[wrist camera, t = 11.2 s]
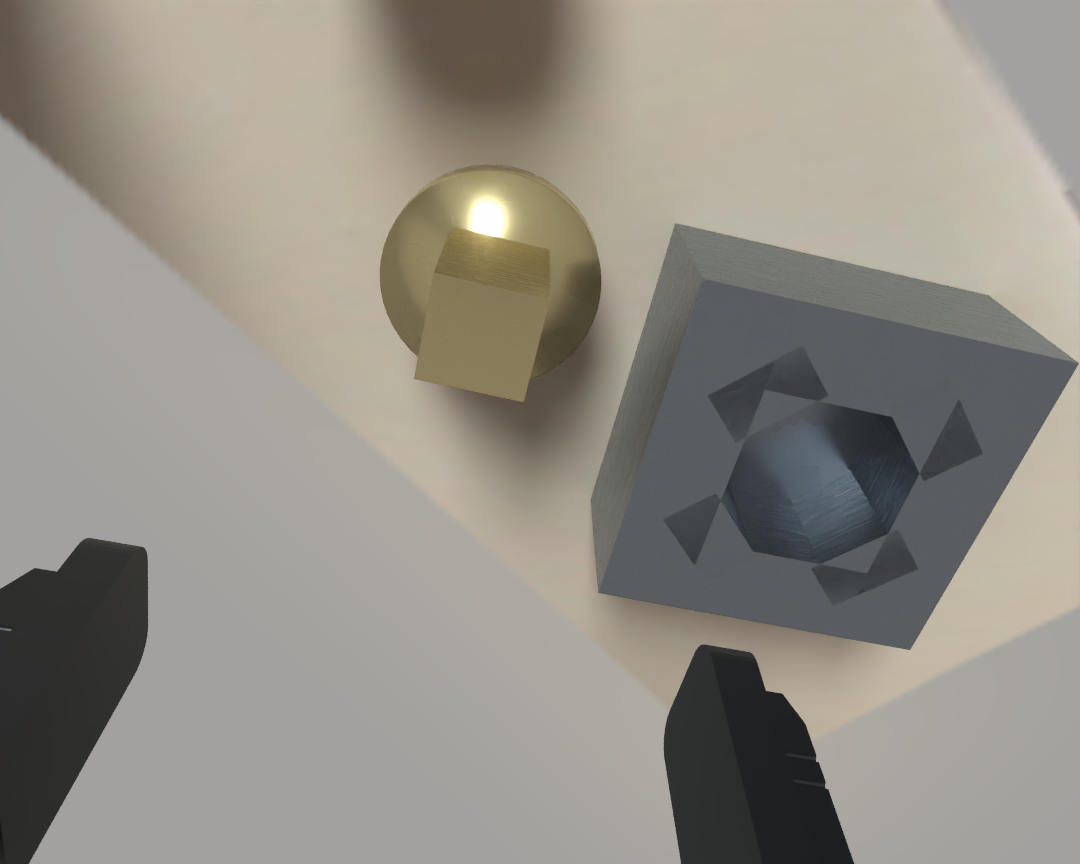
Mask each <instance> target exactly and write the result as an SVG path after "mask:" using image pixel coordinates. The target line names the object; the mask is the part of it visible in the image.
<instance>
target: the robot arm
mask: <svg viewBox="0 0 1080 864" xmlns="http://www.w3.org/2000/svg"><path fill="white" fill-rule="evenodd" d="M147 632H148V560H147V552H146V550H145V548H143V547H139V546H133V545H127V544H121V543H116V542H110V541H104V540H98V539H92V538H86V539H84V540H83V541H82V542H80V544H79V545H78V546H77V547H76V548H75V550H74V551H73V552H72V553H71V555H70V556H69V557H68V559H67V560H66V561H65V562H64V564H63V565H62V566H61V568H60V569H59V570H58V571H57V572H55V571H49V570H42V569H36V568H35V569H33V570H31V571H29V572H28V573H26V574H24V575H23V576H21V577H19V578H18V579H16V580H14V581H13V582H11V583H9V584H8V585H6V586H4V587H3V588H1V589H0V864H29V862H30V860H31V859H32V857H33V855H34V853H35V851H36V850H37V848H38V846H39V844H40V842H41V841H42V839H43V837H44V835H45V834H46V831H47V830H48V828H49V826H50V825H51V823H52V821H53V819H54V817H55V816H56V814H57V812H58V810H59V808H60V807H61V805H62V803H63V801H64V800H65V798H66V796H67V794H68V793H69V791H70V789H71V787H72V785H73V784H74V782H75V780H76V778H77V776H78V775H79V773H80V771H81V769H82V768H83V766H84V764H85V762H86V760H87V759H88V757H89V755H90V753H91V751H92V750H93V748H94V746H95V744H96V742H97V741H98V739H99V737H100V735H101V733H102V732H103V730H104V728H105V726H106V725H107V723H108V721H109V719H110V718H111V716H112V713H113V712H114V710H115V708H116V707H117V705H118V703H119V701H120V700H121V698H122V696H123V694H124V693H125V691H126V689H127V687H128V685H129V684H130V682H131V680H132V678H133V676H134V674H135V673H136V671H137V668H138V666H139V664H140V661H141V658H142V655H143V652H144V648H145V644H146V639H147ZM664 758H665V763H666V770H667V777H668V783H669V790H670V795H671V802H672V808H673V815H674V821H675V827H676V834H677V840H678V846H679V852H680V858H681V864H854V862H853V859H852V856H851V853H850V851H849V848H848V845H847V842H846V839H845V836H844V834H843V831H842V828H841V825H840V822H839V819H838V816H837V813H836V811H835V808H834V805H833V802H832V799H831V796H830V793H829V790H828V789H825V783H826V782H825V779H824V776H823V773H822V770H821V768H820V765H819V762H816V753H815V750H814V747H813V745H812V742H811V739H810V736H809V733H808V730H807V727H806V725H805V723H804V722H803V720H802V719H801V718H800V716H799V715H798V714H797V712H796V711H795V710H794V708H793V707H792V706H791V705H790V703H789V702H788V701H787V699H786V698H785V697H784V695H783V694H781V693H775V692H769V691H766V690H765V687H764V683H763V680H762V677H761V674H760V671H759V667H758V664H757V661H756V659H755V657H754V655H753V654H752V653H750V652H745V651H739V650H733V649H727V648H721V647H715V646H709V645H701V646H699V647H698V648H697V650H696V652H695V654H694V656H693V658H692V661H691V663H690V665H689V668H688V670H687V672H686V675H685V677H684V679H683V682H682V684H681V686H680V689H679V691H678V693H677V696H676V698H675V700H674V703H673V705H672V707H671V710H670V712H669V715H668V718H667V722H666V727H665V734H664Z"/></svg>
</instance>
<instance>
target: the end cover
mask: <svg viewBox="0 0 1080 864" xmlns="http://www.w3.org/2000/svg"><path fill="white" fill-rule="evenodd" d="M380 286H381V293H382V298H383V302H384V305H385V308H386V311H387V314H388V317H389V319H390V321H391V323H392V325H393V327H394V329H395V330H396V332H397V333H398V335H399V336H400V338H401V339H402V340H403V342H404V343H405V344H406V345H407V346H408V348H409V349H410V350H411V351H412V352H413V353H414V354H416V355H417V356H418V360H417V366H416V371H415V377H414V379H418V380H422V381H427V382H431V383H436V384H441V385H445V386H450V387H455V388H459V389H464V390H468V391H473V392H478V393H482V394H487V395H492V396H496V397H501V398H505V399H510V400H515V401H519V402H524V399H525V396H526V392H527V388H528V384H529V380H530V379H532V378H535V377H537V376H539V375H541V374H544V373H546V372H548V371H549V370H551V369H552V368H554V367H556V366H557V365H559V364H560V363H561V362H562V361H564V360H565V359H566V358H567V357H568V356H570V354H571V353H572V352H573V351H574V350H575V349H576V348H577V347H578V346H579V344H580V343H581V342H582V340H583V339H584V337H585V336H586V334H587V333H588V331H589V329H590V327H591V325H592V323H593V320H594V318H595V315H596V312H597V309H598V304H599V299H600V292H601V270H600V263H599V258H598V253H597V248H596V244H595V241H594V238H593V235H592V232H591V230H590V228H589V226H588V224H587V222H586V220H585V218H584V217H583V215H582V214H581V213H580V211H579V210H578V208H577V207H576V206H575V205H574V203H573V202H572V201H571V200H570V199H569V198H568V197H567V196H566V195H565V194H564V193H563V192H561V191H560V190H559V189H558V188H557V187H555V186H554V185H552V184H551V183H549V182H548V181H546V180H545V179H543V178H541V177H539V176H536V175H534V174H532V173H530V172H527V171H524V170H521V169H518V168H513V167H508V166H502V165H478V166H470V167H466V168H462V169H457V170H455V171H452V172H450V173H447V174H444V175H442V176H441V177H439V178H437V179H435V180H433V181H432V182H430V183H429V184H427V185H426V186H425V187H423V188H422V189H421V190H420V191H419V192H418V193H417V194H416V195H415V196H414V197H413V198H412V199H411V200H410V201H409V202H408V203H407V205H406V206H405V207H404V209H403V210H402V211H401V213H400V214H399V216H398V218H397V219H396V221H395V223H394V224H393V226H392V228H391V230H390V232H389V234H388V237H387V239H386V242H385V245H384V248H383V253H382V257H381V265H380Z"/></svg>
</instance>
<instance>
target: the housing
mask: <svg viewBox="0 0 1080 864" xmlns="http://www.w3.org/2000/svg"><path fill="white" fill-rule="evenodd" d="M1078 364H1079V363H1078V362H1077V361H1075V360H1074V359H1073V358H1071V357H1070V356H1069V355H1067V354H1066V353H1065V352H1063V351H1062V350H1061V349H1059V348H1058V347H1057V346H1055V345H1054V344H1053V343H1051V342H1050V341H1049V340H1047V339H1046V338H1045V337H1043V336H1042V335H1041V334H1039V333H1038V332H1037V331H1035V330H1034V329H1033V328H1031V327H1030V326H1029V325H1027V324H1026V323H1024V322H1023V321H1022V320H1020V319H1019V318H1018V317H1016V316H1015V315H1014V314H1012V313H1011V312H1010V311H1008V310H1007V309H1006V308H1004V307H1003V306H1002V305H1000V304H999V303H998V302H996V301H995V300H994V299H992V298H991V297H990V296H988V295H983V294H979V293H975V292H970V291H966V290H962V289H957V288H953V287H949V286H944V285H940V284H936V283H931V282H927V281H923V280H918V279H914V278H910V277H905V276H901V275H897V274H892V273H888V272H884V271H879V270H875V269H871V268H866V267H862V266H858V265H853V264H849V263H845V262H840V261H836V260H832V259H827V258H823V257H819V256H814V255H810V254H806V253H801V252H797V251H793V250H788V249H784V248H780V247H775V246H771V245H767V244H762V243H758V242H754V241H749V240H745V239H741V238H736V237H732V236H728V235H723V234H719V233H715V232H710V231H706V230H702V229H697V228H693V227H689V226H684V225H680V224H675V227H674V230H673V233H672V237H671V240H670V243H669V246H668V250H667V253H666V256H665V260H664V263H663V266H662V269H661V273H660V276H659V279H658V282H657V286H656V289H655V292H654V295H653V299H652V302H651V305H650V309H649V312H648V315H647V318H646V322H645V325H644V328H643V331H642V335H641V338H640V341H639V344H638V348H637V351H636V354H635V358H634V361H633V364H632V367H631V371H630V374H629V377H628V380H627V384H626V387H625V390H624V394H623V397H622V400H621V403H620V407H619V410H618V413H617V416H616V420H615V423H614V426H613V429H612V433H611V436H610V439H609V443H608V446H607V449H606V452H605V456H604V459H603V462H602V465H601V469H600V472H599V475H598V478H597V482H596V485H595V488H594V492H593V495H592V498H591V506H592V519H593V532H594V544H595V557H596V570H597V583H598V593H603V594H608V595H613V596H619V597H624V598H630V599H635V600H641V601H646V602H652V603H657V604H662V605H668V606H673V607H679V608H684V609H690V610H695V611H701V612H706V613H711V614H717V615H722V616H728V617H733V618H739V619H744V620H749V621H755V622H760V623H766V624H771V625H777V626H782V627H788V628H793V629H798V630H804V631H809V632H815V633H820V634H826V635H831V636H837V637H842V638H847V639H853V640H858V641H864V642H869V643H875V644H880V645H885V646H891V647H896V648H902V649H907V650H910V649H911V647H912V646H913V644H914V642H915V641H916V639H917V637H918V636H919V634H920V632H921V630H922V629H923V627H924V625H925V624H926V622H927V620H928V619H929V617H930V615H931V614H932V612H933V610H934V608H935V607H936V605H937V603H938V602H939V600H940V598H941V597H942V595H943V593H944V591H945V590H946V588H947V586H948V585H949V583H950V581H951V580H952V578H953V576H954V574H955V573H956V571H957V569H958V568H959V566H960V564H961V563H962V561H963V559H964V558H965V556H966V554H967V552H968V551H969V549H970V547H971V546H972V544H973V542H974V541H975V539H976V537H977V535H978V534H979V532H980V530H981V529H982V527H983V525H984V524H985V522H986V520H987V518H988V517H989V515H990V513H991V512H992V510H993V508H994V507H995V505H996V503H997V502H998V500H999V498H1000V496H1001V495H1002V493H1003V491H1004V490H1005V488H1006V486H1007V485H1008V483H1009V481H1010V479H1011V478H1012V476H1013V474H1014V473H1015V471H1016V469H1017V468H1018V466H1019V464H1020V463H1021V461H1022V459H1023V457H1024V456H1025V454H1026V452H1027V451H1028V449H1029V447H1030V446H1031V444H1032V442H1033V440H1034V439H1035V437H1036V435H1037V434H1038V432H1039V430H1040V429H1041V427H1042V425H1043V423H1044V422H1045V420H1046V418H1047V417H1048V415H1049V413H1050V412H1051V410H1052V408H1053V407H1054V405H1055V403H1056V401H1057V400H1058V398H1059V396H1060V395H1061V393H1062V391H1063V390H1064V388H1065V386H1066V384H1067V383H1068V381H1069V379H1070V378H1071V376H1072V374H1073V373H1074V371H1075V369H1076V367H1077V366H1078Z"/></svg>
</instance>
